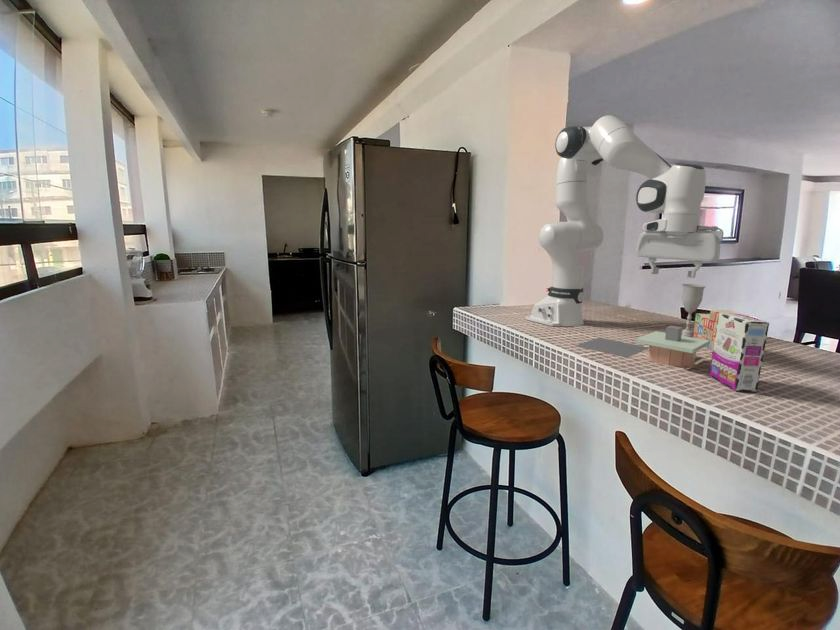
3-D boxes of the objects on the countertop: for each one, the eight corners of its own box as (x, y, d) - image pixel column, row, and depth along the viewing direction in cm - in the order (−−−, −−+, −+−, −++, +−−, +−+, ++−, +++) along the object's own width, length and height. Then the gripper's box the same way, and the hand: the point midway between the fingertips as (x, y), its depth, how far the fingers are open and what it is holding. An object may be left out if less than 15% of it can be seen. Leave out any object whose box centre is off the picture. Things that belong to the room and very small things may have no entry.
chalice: (699, 340, 142) (706, 287, 138) (675, 337, 145) (682, 285, 142) (697, 335, 148) (705, 284, 145) (675, 333, 151) (681, 283, 148)
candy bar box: (758, 392, 96) (771, 322, 93) (735, 391, 97) (746, 321, 94) (728, 376, 107) (739, 312, 104) (707, 375, 108) (717, 312, 104)
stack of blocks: (691, 340, 143) (696, 304, 141) (712, 341, 142) (717, 304, 140) (725, 358, 122) (731, 317, 120) (749, 360, 121) (756, 318, 119)
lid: (635, 342, 118) (637, 326, 117) (655, 334, 127) (657, 319, 126) (692, 353, 108) (695, 336, 107) (709, 344, 117) (712, 328, 116)
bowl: (641, 361, 119) (643, 342, 118) (656, 354, 126) (659, 336, 125) (685, 371, 111) (688, 351, 110) (699, 362, 118) (701, 343, 117)
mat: (574, 347, 132) (574, 345, 132) (599, 339, 143) (599, 337, 142) (626, 359, 120) (626, 357, 120) (649, 349, 131) (649, 347, 131)
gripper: (728, 226, 110) (719, 279, 113) (646, 224, 125) (640, 271, 129) (721, 226, 106) (711, 281, 109) (637, 224, 121) (630, 272, 124)
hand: (672, 275), depth 119 cm, fingers open, 8 cm apart
